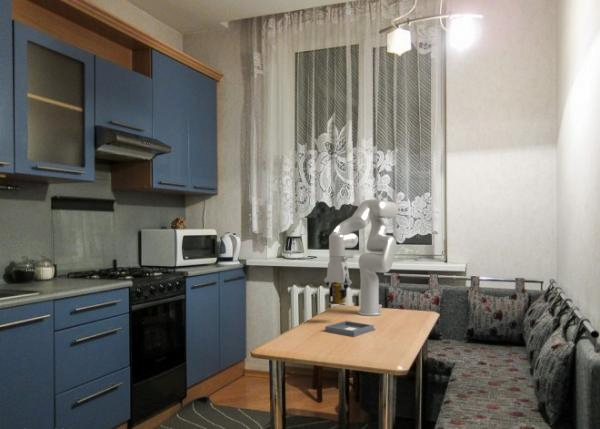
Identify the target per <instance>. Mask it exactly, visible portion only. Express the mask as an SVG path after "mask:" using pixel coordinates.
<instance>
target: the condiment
mask: <svg viewBox="0 0 600 429" xmlns="http://www.w3.org/2000/svg"><path fill="white" fill-rule="evenodd" d="M341 290H342V287H341V284H338V283H337V282H334V283H333V284H332V299H331V300H327V301H326V302H327V303H328V304H329V305H333V306H334V305H347V304H348V303H347V302H346V297H345V298H341Z"/></svg>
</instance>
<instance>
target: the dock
mask: <svg viewBox="0 0 600 429" xmlns="http://www.w3.org/2000/svg"><path fill="white" fill-rule="evenodd" d="M374 326H375V325H374V324H369V323H368V324H367V323H362V322H355V321H350V320H343V321H340V322H336V323H333V324H332V323H331V324H329V325H325V329H323V332H326V333H330V334H331V333H332V334H337V335H343V336H349V337H354V338H355V337H358V336H361V335H363V334H367V333H370V332H373V331H375V330H376V328H374Z"/></svg>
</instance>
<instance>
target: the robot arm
mask: <svg viewBox="0 0 600 429" xmlns="http://www.w3.org/2000/svg"><path fill="white" fill-rule="evenodd" d="M398 214H399V207H398V204H396V202H394V201H389V200H383V199H367V200H366V199H365V200H363V201H362V202H361V203H360V204H359V206H358V208H357V209H356V210H355V211H354V213H353V214H352V216H350V217H348V218H347V219H345V220H343V221H342V222H340V223H339V224H337V225H336V226H335V227H334V229H333V230H332V232H331V233H330V234H329V236H328V250H329V251H328V254H329V261H328V264H327V269H326V270H327V271H326V275H327V276H325V278H324V279H323V281H324V283H325V284H326V286H328V287H327V288H328V289H329V297H332V284H333V283H334V282H337V283H338V284H341V287H342V290H341V298H345V299H346V298H347V289H348V288H349V287H350V285H351V284H353V282H352V280H351V279H350V275H349V274H350V272H349V268H348V267H349V266H348V263H347V262H346V261H348V257H346V249H353V248H355V247H356V246H357V244H358V242H359V237H358V235H357V234H355V233H354V232H357V231H360V230H362V229H364V228H365V227H367V225H368V223H369V222H370V225H371V226H370V227H371V228H370V231H369V234H368V238H367V242H366V250H367V251H368V252H367V253H366V252H365V253H362V254H361V255H360V256H359V258H358V269H359V273H360V294H359V295H360V302H359V304H360V309H358V310H357V314H358V315H361V316H369V317H370V316H371V317H372V316H381V315H382V313H383V312H382V311H381V310H380V309H381V308H382V307H383V305H382V304H380V303H379V302H380V301H379V300H380V294H379V292H380V289H379V288H380V281H379V280H380V279H379V276H378V275H377V273H385V274H386V273H389V272H390V270H391V268H392V266H393V263H394V258H395V255H396V252H397V241H396V240H397V239H396V238H395V236H393V235H387V231H388V227H387V224H386V223H385V221H384V219H394V218H396V217H397V216H398Z"/></svg>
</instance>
